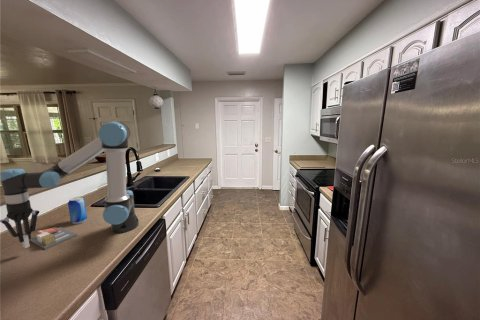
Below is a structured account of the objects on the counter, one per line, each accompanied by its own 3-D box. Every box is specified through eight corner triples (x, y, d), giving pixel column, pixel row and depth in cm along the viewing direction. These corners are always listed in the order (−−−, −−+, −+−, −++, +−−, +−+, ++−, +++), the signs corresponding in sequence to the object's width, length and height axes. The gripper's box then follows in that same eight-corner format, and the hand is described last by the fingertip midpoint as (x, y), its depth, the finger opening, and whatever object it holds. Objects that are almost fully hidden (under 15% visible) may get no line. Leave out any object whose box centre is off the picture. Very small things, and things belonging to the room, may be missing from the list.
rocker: (59, 231, 115) (59, 229, 115) (41, 235, 108) (41, 233, 108) (54, 229, 117) (55, 227, 117) (36, 233, 110) (36, 230, 110)
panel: (77, 235, 113) (76, 232, 113) (45, 249, 101) (44, 245, 101) (60, 228, 121) (60, 225, 121) (29, 240, 108) (28, 236, 108)
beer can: (90, 218, 134) (87, 196, 131) (79, 225, 125) (75, 201, 122) (79, 218, 134) (75, 195, 131) (67, 224, 126) (63, 200, 123)
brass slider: (55, 241, 106) (54, 235, 105) (46, 245, 102) (44, 239, 102) (52, 239, 107) (50, 233, 107) (42, 243, 104) (41, 237, 103)
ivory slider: (51, 239, 108) (50, 233, 107) (41, 243, 104) (40, 237, 104) (47, 237, 110) (46, 231, 109) (37, 241, 106) (36, 235, 105)
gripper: (33, 195, 100) (40, 238, 105) (-7, 204, 89) (3, 252, 93) (40, 198, 97) (47, 241, 101) (0, 208, 86) (10, 256, 90)
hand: (26, 246), depth 97 cm, fingers closed
